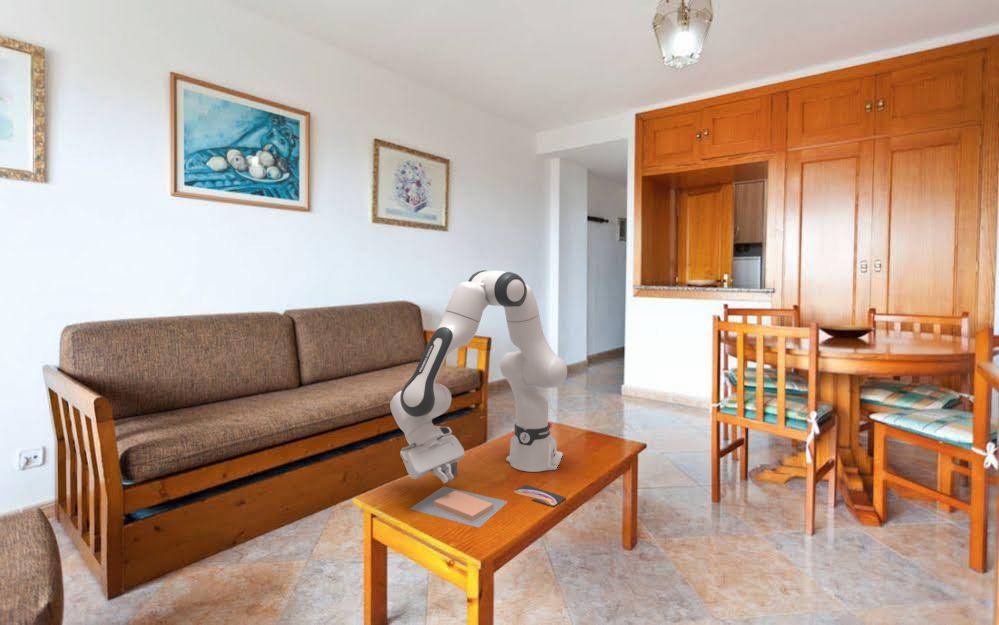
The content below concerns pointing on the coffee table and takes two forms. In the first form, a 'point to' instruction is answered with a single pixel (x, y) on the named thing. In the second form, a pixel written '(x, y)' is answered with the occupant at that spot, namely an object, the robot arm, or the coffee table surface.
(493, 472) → the coffee table surface
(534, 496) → the smartphone
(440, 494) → the mat
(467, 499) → the tile
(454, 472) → the dice cube
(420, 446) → the robot arm
